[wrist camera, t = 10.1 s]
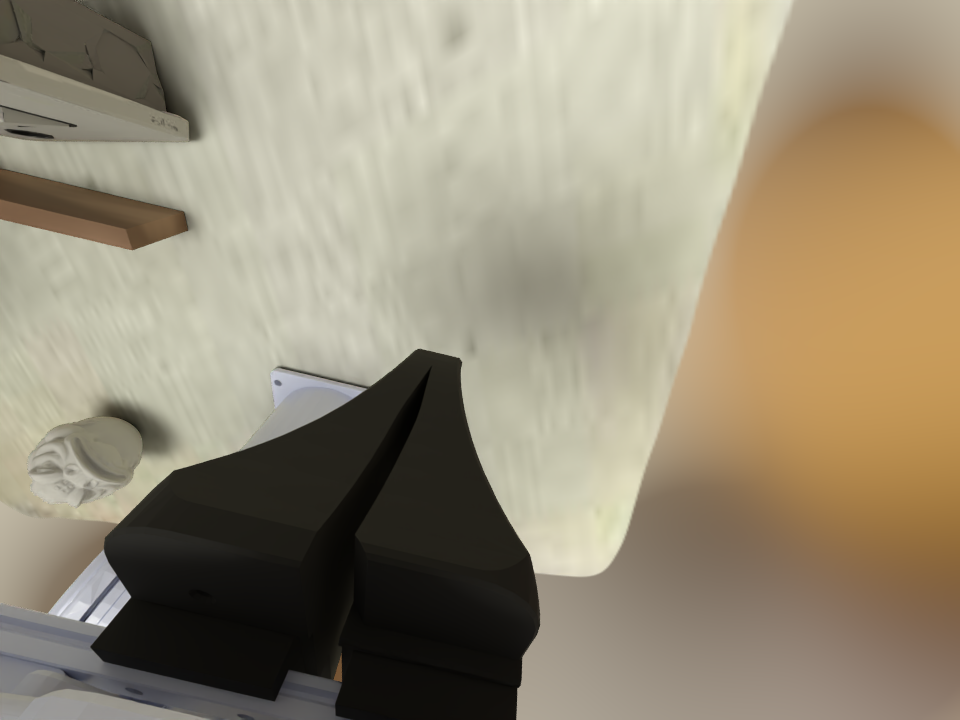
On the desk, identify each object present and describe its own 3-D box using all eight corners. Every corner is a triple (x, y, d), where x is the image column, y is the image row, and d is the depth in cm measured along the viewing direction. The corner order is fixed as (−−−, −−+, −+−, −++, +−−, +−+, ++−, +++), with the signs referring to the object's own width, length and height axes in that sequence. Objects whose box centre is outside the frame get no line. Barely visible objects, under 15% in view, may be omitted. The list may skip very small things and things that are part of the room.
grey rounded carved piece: (187, 444, 32) (108, 519, 26) (132, 460, 34) (48, 533, 28) (127, 387, 29) (23, 457, 23) (71, 408, 31) (-36, 478, 25)
